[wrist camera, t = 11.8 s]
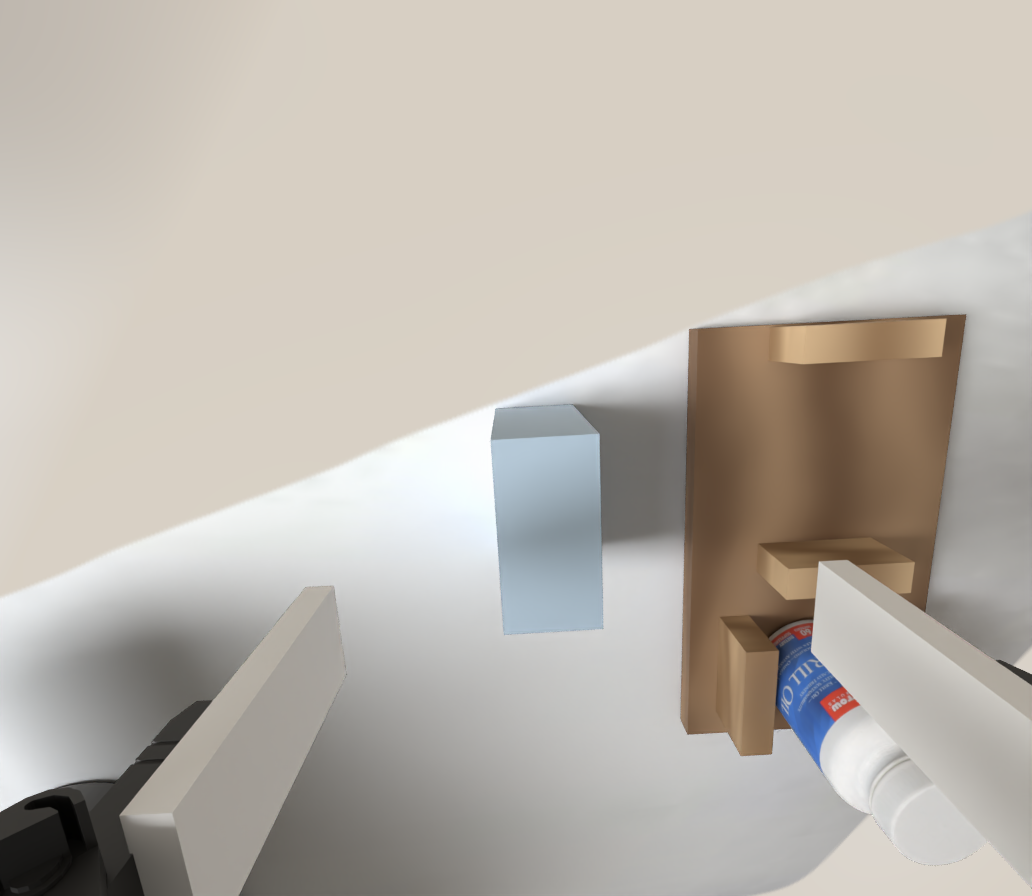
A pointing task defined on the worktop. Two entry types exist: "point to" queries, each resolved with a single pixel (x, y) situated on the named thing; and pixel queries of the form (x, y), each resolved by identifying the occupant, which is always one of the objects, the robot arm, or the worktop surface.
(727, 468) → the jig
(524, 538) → the block
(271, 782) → the robot arm
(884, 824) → the pill bottle
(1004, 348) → the worktop surface
